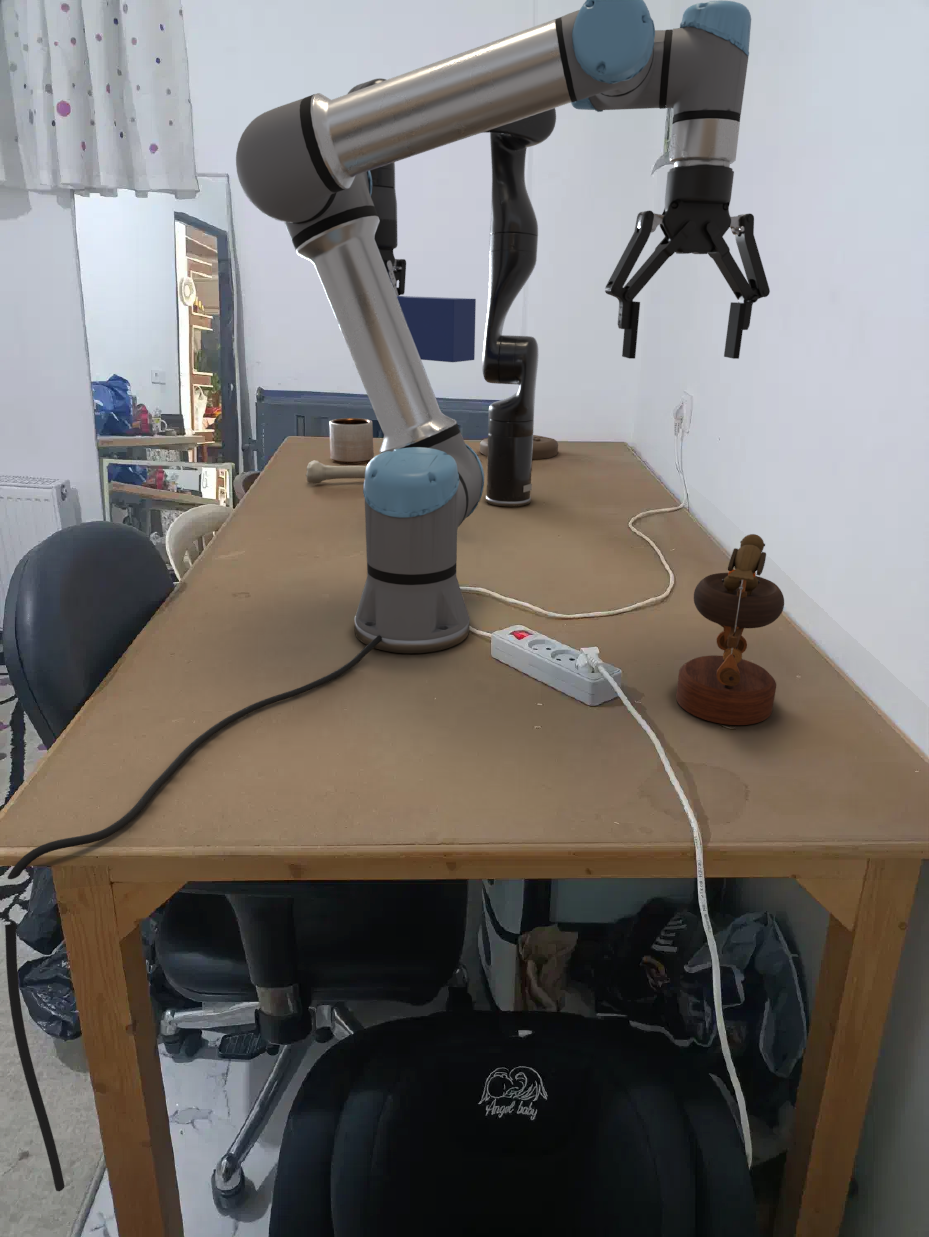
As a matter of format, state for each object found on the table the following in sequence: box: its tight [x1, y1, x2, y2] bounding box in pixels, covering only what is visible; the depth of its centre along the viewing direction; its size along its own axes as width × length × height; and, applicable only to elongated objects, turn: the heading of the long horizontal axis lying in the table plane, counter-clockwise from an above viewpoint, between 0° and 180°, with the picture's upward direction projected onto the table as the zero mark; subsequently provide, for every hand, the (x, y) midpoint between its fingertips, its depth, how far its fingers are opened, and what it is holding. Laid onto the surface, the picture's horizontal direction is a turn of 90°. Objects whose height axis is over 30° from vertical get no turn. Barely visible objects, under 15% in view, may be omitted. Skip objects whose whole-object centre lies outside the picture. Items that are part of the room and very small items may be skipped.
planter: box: [328, 417, 375, 464], centre depth 212 cm, size 11×11×10 cm
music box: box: [675, 533, 785, 726], centre depth 92 cm, size 15×11×20 cm
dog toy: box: [305, 459, 367, 484], centre depth 190 cm, size 20×6×5 cm, turn 99°
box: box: [397, 295, 477, 363], centre depth 147 cm, size 23×6×10 cm, turn 55°
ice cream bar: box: [479, 434, 559, 460], centre depth 219 cm, size 21×28×4 cm
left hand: (680, 358), depth 106 cm, fingers open, 13 cm apart
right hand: (377, 321), depth 150 cm, fingers closed on box, 6 cm apart
